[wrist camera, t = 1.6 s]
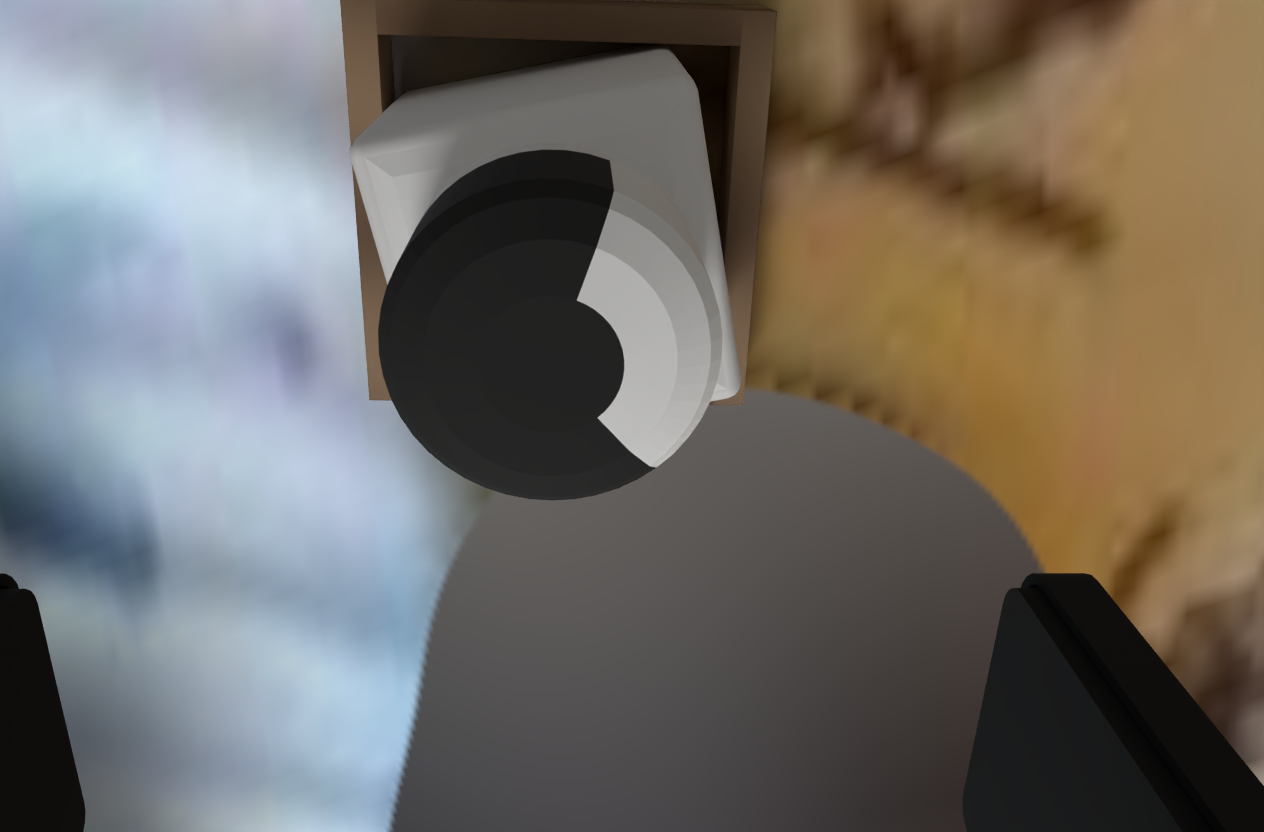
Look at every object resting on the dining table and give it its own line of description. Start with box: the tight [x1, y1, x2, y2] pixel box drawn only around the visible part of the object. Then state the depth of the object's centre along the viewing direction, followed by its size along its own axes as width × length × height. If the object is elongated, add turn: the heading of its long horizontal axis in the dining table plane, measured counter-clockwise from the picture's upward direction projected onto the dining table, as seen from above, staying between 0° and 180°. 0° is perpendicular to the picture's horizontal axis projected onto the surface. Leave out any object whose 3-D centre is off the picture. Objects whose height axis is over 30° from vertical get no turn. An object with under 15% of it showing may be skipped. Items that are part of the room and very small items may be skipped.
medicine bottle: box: [350, 43, 741, 500], centre depth 24 cm, size 7×7×12 cm
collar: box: [340, 0, 777, 405], centre depth 28 cm, size 10×10×2 cm
